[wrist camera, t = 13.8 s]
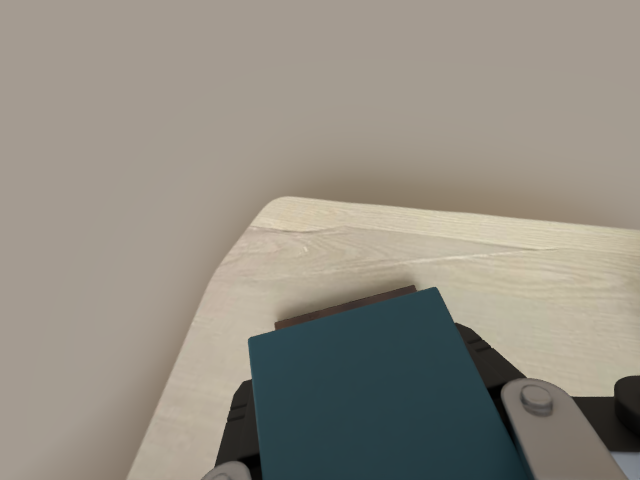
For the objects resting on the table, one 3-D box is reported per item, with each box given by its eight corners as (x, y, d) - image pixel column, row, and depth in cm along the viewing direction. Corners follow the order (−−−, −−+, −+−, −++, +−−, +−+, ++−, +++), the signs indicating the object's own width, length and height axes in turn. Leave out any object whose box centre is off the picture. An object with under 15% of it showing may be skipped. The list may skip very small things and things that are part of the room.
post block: (396, 353, 15) (437, 284, 7) (439, 471, 12) (570, 554, 5) (304, 379, 15) (246, 337, 7) (328, 503, 12) (278, 644, 5)
